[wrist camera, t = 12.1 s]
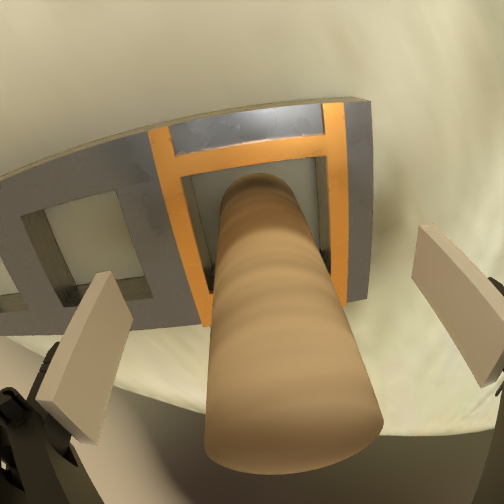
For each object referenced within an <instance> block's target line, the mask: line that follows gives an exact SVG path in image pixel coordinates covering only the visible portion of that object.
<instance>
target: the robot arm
mask: <svg viewBox="0 0 504 504" xmlns="http://www.w3.org/2000/svg"><path fill="white" fill-rule="evenodd" d="M411 278H412V279H413V281H414V282H415V284H416V285H417V286H418V288H419V289H420V291H421V292H422V294H423V295H424V297H425V298H426V300H427V301H428V302H429V304H430V305H431V307H432V308H433V310H434V311H435V313H436V315H437V316H438V318H439V319H440V321H441V322H442V324H443V325H444V327H445V328H446V330H447V332H448V333H449V335H450V336H451V338H452V340H453V341H454V343H455V345H456V346H457V348H458V349H459V351H460V353H461V355H462V356H463V358H464V360H465V361H466V363H467V365H468V366H469V368H470V370H471V372H472V374H473V375H474V377H475V379H476V381H477V383H478V384H479V386H480V388H483V387H485V386H487V385H489V384H492V383H494V382H496V381H497V379H498V377H499V376H500V374H501V373H502V371H503V372H504V286H503V285H502V284H501V283H499V282H498V281H496V280H495V279H493V278H492V277H489V278H487V277H486V276H485V275H484V274H483V273H482V272H481V271H480V270H479V269H478V267H477V266H476V265H475V264H474V263H473V262H472V261H471V260H470V259H469V258H468V257H467V256H466V255H465V254H464V253H463V252H462V251H461V250H460V249H459V248H458V247H457V246H456V245H455V244H454V243H453V242H452V241H451V240H450V239H449V238H448V237H447V236H446V235H445V234H444V233H443V232H442V231H441V230H440V229H439V228H438V227H437V226H436V225H434V224H433V223H432V224H425V225H419V230H418V238H417V245H416V252H415V259H414V265H413V272H412V277H411ZM132 322H133V317H132V315H131V313H130V311H129V309H128V306H127V304H126V302H125V300H124V298H123V296H122V293H121V291H120V289H119V287H118V285H117V282H116V280H115V278H114V275H113V273H112V271H106V272H100V273H96V275H95V277H94V279H93V280H92V282H91V284H90V286H89V288H88V289H87V291H86V293H85V295H84V297H83V299H82V300H81V302H80V304H79V306H78V308H77V310H76V312H75V314H74V316H73V317H72V319H71V321H70V323H69V325H68V327H67V329H66V331H65V333H64V335H63V337H62V339H61V342H56V343H55V344H54V345H53V346H52V348H51V349H50V350H49V351H48V353H47V355H46V357H45V359H44V361H43V363H44V364H42V366H41V368H40V370H39V371H40V372H39V373H38V374H37V377H36V379H35V381H34V383H33V386H32V388H31V390H30V393H29V395H28V398H27V400H25V399H24V398H23V397H22V396H21V395H20V394H19V392H18V391H17V390H16V389H14V388H12V387H6V388H4V389H2V390H1V391H0V504H104V502H103V501H102V499H101V497H100V495H99V494H98V492H97V490H96V488H95V487H94V485H93V483H92V481H91V479H90V478H89V476H88V474H87V472H86V470H85V468H84V466H83V464H82V462H81V460H80V458H79V456H78V454H77V452H76V450H75V448H74V446H73V445H72V444H71V443H70V439H71V435H72V436H73V437H74V438H75V439H76V440H78V441H79V442H80V443H85V444H92V445H98V442H99V437H100V433H101V429H102V425H103V421H104V417H105V413H106V409H107V405H108V402H109V398H110V394H111V391H112V387H113V383H114V380H115V376H116V373H117V369H118V366H119V363H120V359H121V356H122V353H123V350H124V346H125V343H126V340H127V337H128V334H129V331H130V328H131V325H132ZM501 390H502V394H501V400H500V405H499V410H498V415H497V420H496V425H495V429H494V434H493V438H492V442H491V445H490V449H489V453H488V456H487V460H486V463H485V467H484V470H483V473H482V476H481V479H480V482H479V485H478V488H477V490H476V493H475V496H474V498H473V501H472V503H471V504H504V381H503V382H502V384H501V385H500V387H499V388H498V390H497V391H496V394H495V396H498V394H499V393H500V392H501ZM1 461H3V462H4V463H5V464H6V470H5V469H3V468H2V467H1Z"/></svg>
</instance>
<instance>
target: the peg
mask: <svg viewBox="0 0 504 504" xmlns="http://www.w3.org/2000/svg"><path fill="white" fill-rule="evenodd" d="M383 424H384V420H383V417H382V414H381V411H380V408H379V405H378V402H377V399H376V396H375V393H374V390H373V387H372V385H371V382H370V379H369V376H368V373H367V371H366V368H365V365H364V362H363V360H362V357H361V354H360V352H359V349H358V346H357V344H356V341H355V338H354V336H353V333H352V331H351V328H350V325H349V323H348V320H347V318H346V315H345V313H344V310H343V308H342V305H341V303H340V300H339V298H338V295H337V293H336V290H335V288H334V286H333V283H332V281H331V278H330V276H329V273H328V271H327V269H326V266H325V264H324V262H323V259H322V257H321V255H320V252H319V250H318V248H317V245H316V243H315V241H314V239H313V236H312V234H311V232H310V230H309V227H308V225H307V223H306V221H305V218H304V216H303V214H302V212H301V210H300V207H299V205H298V203H297V201H296V199H295V197H294V194H293V192H292V191H291V189H290V188H289V186H288V185H287V184H286V183H285V182H283V181H282V180H280V179H279V178H277V177H275V176H272V175H268V174H251V175H247V176H244V177H242V178H240V179H238V180H237V181H235V182H234V183H233V184H232V185H231V186H230V187H229V188H228V190H227V191H226V193H225V195H224V197H223V200H222V204H221V213H220V224H219V234H218V245H217V256H216V268H215V280H214V292H213V305H212V319H211V333H210V348H209V364H208V382H207V401H206V422H205V451H206V453H207V455H208V456H209V457H210V458H211V459H212V460H213V461H215V462H216V463H218V464H220V465H222V466H224V467H227V468H229V469H232V470H236V471H240V472H246V473H253V474H289V473H298V472H303V471H309V470H313V469H317V468H321V467H325V466H328V465H331V464H333V463H336V462H339V461H341V460H344V459H346V458H348V457H350V456H352V455H354V454H356V453H357V452H359V451H360V450H362V449H363V448H365V447H366V446H368V445H369V444H370V443H371V442H372V441H374V439H376V437H377V436H378V435H379V434H380V432H381V430H382V428H383Z"/></svg>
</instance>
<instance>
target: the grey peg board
mask: <svg viewBox="0 0 504 504" xmlns="http://www.w3.org/2000/svg"><path fill="white" fill-rule="evenodd" d="M308 157H315V165H316V179H317V194H318V210H319V231H320V251H319V252H320V255H321V257H322V259H323V262H324V264H325V266H326V269H327V271H328V273H329V276H330V278H331V281H332V283H333V286H334V288H335V290H336V293H337V295H338V298H339V300H340V303H341V305H342V307H343V306H346V303H347V302H353V301H358V300H363V299H367V293H368V283H369V271H370V257H371V241H372V219H373V137H372V115H371V101H368V100H364V99H360V98H355V97H340V98H322V99H309V100H297V101H287V102H278V103H269V104H261V105H254V106H246V107H240V108H233V109H227V110H221V111H215V112H210V113H205V114H199V115H194V116H189V117H185V118H180V119H175V120H171V121H166V122H162V123H158V124H154V125H150V126H146V127H142V128H138V129H134V130H131V131H127V132H123V133H120V134H116V135H113V136H110V137H106V138H103V139H100V140H97V141H93V142H90V143H87V144H84V145H81V146H78V147H75V148H72V149H69V150H67V151H64V152H61V153H58V154H55V155H53V156H50V157H47V158H45V159H42V160H40V161H37V162H35V163H32V164H30V165H27V166H25V167H22V168H20V169H18V170H15V171H13V172H11V173H9V174H6V175H4V176H2V177H0V256H1V258H2V260H3V262H4V264H5V266H6V268H7V270H8V272H9V274H10V276H11V278H12V280H13V281H14V283H15V285H16V287H17V289H18V291H19V292H20V293H18V294H10V295H2V296H0V336H25V335H62V334H64V333H65V331H66V329H67V327H68V325H69V323H70V321H71V319H72V317H73V316H74V314H75V312H76V310H77V308H78V306H79V304H80V302H81V300H82V299H83V297H84V295H85V293H86V291H87V289H88V288H89V286H90V284H87V285H79V286H76V284H75V282H74V280H73V278H72V276H71V274H70V272H69V270H68V268H67V265H66V263H65V261H64V259H63V257H62V254H61V252H60V250H59V248H58V245H57V243H56V241H55V238H54V236H53V233H52V231H51V229H50V226H49V224H48V221H47V218H46V216H45V213H44V211H43V209H45V208H48V207H52V206H55V205H58V204H62V203H65V202H69V201H73V200H76V199H80V198H84V197H88V196H91V195H95V194H99V193H103V192H107V191H111V190H116V193H117V196H118V199H119V202H120V206H121V209H122V212H123V215H124V218H125V221H126V224H127V227H128V230H129V233H130V236H131V239H132V241H133V244H134V247H135V250H136V253H137V255H138V258H139V261H140V264H141V266H142V269H143V272H144V274H145V277H138V278H131V279H124V280H116V282H117V285H118V287H119V289H120V291H121V293H122V296H123V298H124V300H125V302H126V304H127V306H128V309H129V311H130V313H131V315H132V317H133V322H132V325H131V328H130V331H132V330H144V329H156V328H167V327H177V326H187V325H196V324H202V325H203V327H207V326H211V319H212V305H213V292H214V280H215V268H216V267H212V264H211V260H210V256H209V252H208V248H207V244H206V240H205V235H204V231H203V227H202V223H201V219H200V214H199V210H198V206H197V202H196V197H195V193H194V188H193V184H192V179H191V175H194V174H199V173H205V172H210V171H216V170H222V169H228V168H234V167H240V166H247V165H254V164H261V163H268V162H275V161H283V160H291V159H299V158H308Z"/></svg>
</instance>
